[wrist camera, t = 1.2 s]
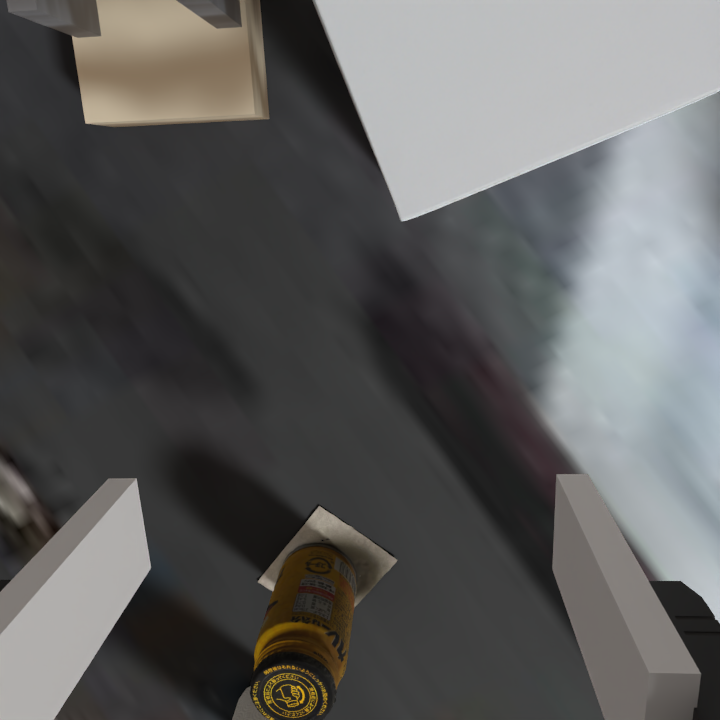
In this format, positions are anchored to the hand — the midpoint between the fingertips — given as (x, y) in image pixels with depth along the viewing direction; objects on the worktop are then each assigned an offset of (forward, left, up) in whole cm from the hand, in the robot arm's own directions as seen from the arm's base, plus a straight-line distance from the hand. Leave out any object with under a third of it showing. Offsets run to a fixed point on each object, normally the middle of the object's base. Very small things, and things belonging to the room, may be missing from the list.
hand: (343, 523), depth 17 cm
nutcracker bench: (+4, -24, -28) cm, 37 cm away
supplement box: (-10, -12, -28) cm, 32 cm away
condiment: (+12, +18, -28) cm, 35 cm away
